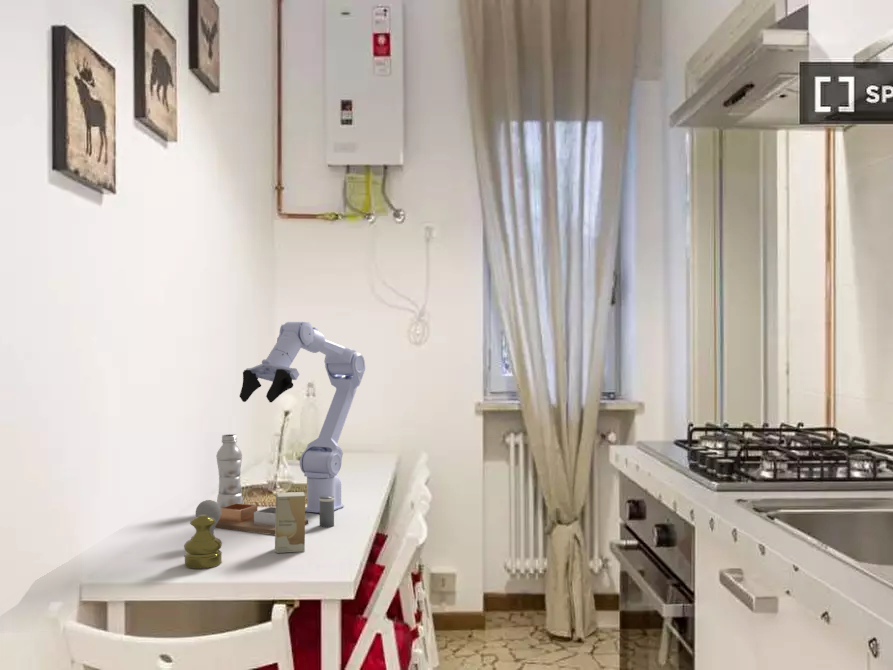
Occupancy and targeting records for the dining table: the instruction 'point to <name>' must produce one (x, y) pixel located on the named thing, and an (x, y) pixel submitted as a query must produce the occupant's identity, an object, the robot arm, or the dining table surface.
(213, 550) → the gold chess piece
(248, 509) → the copper collar
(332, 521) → the grey domed cylinder
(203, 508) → the light bulb
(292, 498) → the skincare box
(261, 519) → the steel collar
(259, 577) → the dining table surface
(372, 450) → the dining table surface
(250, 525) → the walnut board
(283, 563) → the dining table surface
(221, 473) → the plastic bottle
